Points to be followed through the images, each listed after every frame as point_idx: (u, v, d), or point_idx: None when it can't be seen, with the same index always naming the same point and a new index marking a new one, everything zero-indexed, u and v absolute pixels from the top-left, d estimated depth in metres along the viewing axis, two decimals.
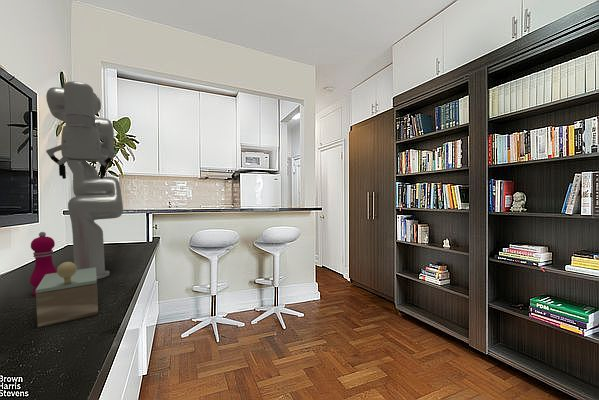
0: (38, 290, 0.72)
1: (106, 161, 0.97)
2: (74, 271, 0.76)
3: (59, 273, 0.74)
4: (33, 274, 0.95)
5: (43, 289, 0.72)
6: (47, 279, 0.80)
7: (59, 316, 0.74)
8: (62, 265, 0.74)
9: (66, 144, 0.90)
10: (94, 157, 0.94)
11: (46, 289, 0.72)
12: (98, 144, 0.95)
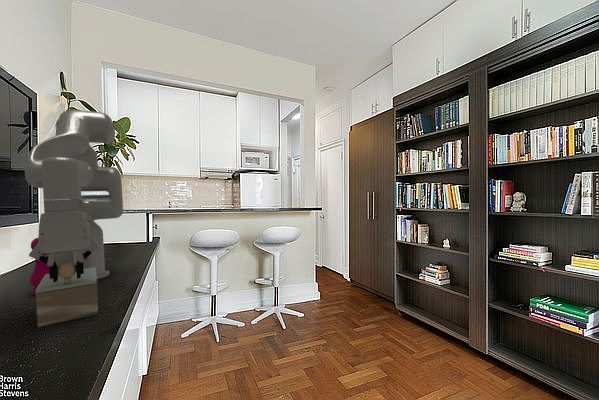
0: (38, 290, 0.72)
1: (84, 256, 0.77)
2: (74, 271, 0.76)
3: (59, 273, 0.74)
4: (33, 274, 0.95)
5: (43, 289, 0.72)
6: (47, 279, 0.80)
7: (59, 316, 0.74)
8: (62, 265, 0.74)
9: (44, 237, 0.72)
10: (80, 248, 0.76)
11: (46, 289, 0.72)
12: (85, 231, 0.76)
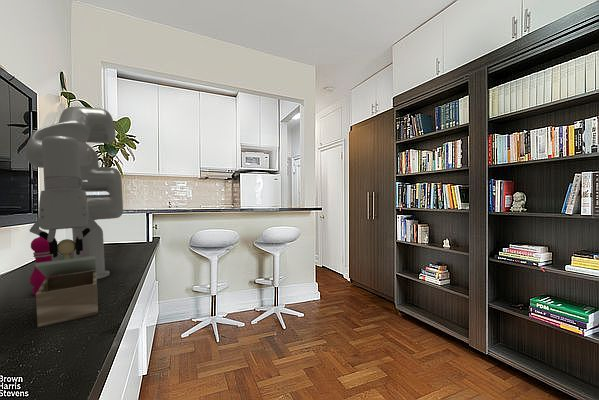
0: (37, 263, 0.72)
1: (83, 233, 0.79)
2: (73, 247, 0.78)
3: (59, 248, 0.76)
4: (33, 274, 0.95)
5: (42, 263, 0.73)
6: None
7: (59, 316, 0.74)
8: (62, 240, 0.77)
9: (44, 213, 0.74)
10: (80, 225, 0.78)
11: (45, 262, 0.73)
12: (85, 209, 0.78)
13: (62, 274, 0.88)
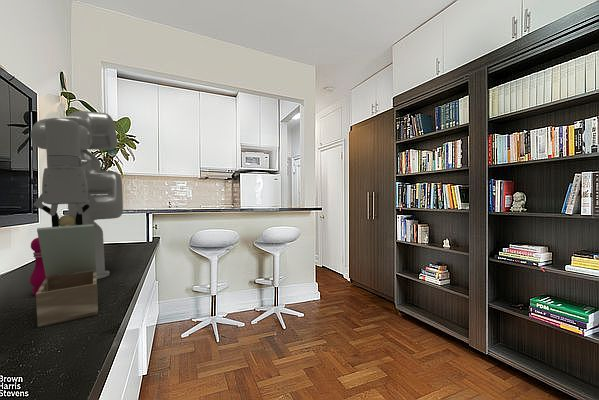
0: (39, 228, 0.77)
1: (83, 209, 0.86)
2: (74, 219, 0.84)
3: (60, 219, 0.82)
4: (33, 274, 0.95)
5: (44, 228, 0.78)
6: None
7: (59, 316, 0.74)
8: None
9: (47, 189, 0.80)
10: (79, 201, 0.84)
11: (47, 228, 0.78)
12: (84, 186, 0.85)
13: (62, 274, 0.88)
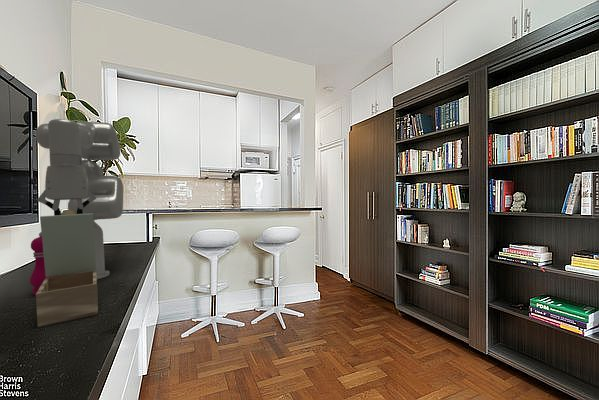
0: (42, 216, 0.83)
1: (83, 204, 0.91)
2: (74, 212, 0.89)
3: (62, 212, 0.88)
4: (33, 274, 0.95)
5: None
6: None
7: (59, 316, 0.74)
8: None
9: (50, 185, 0.86)
10: (80, 197, 0.90)
11: (49, 216, 0.84)
12: (84, 183, 0.90)
13: (62, 273, 0.88)
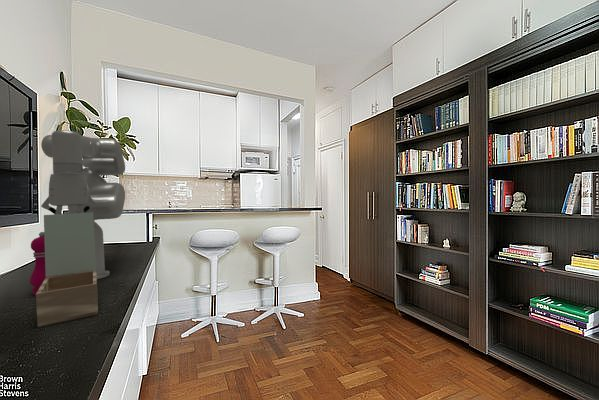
0: None
1: (84, 210, 0.97)
2: None
3: None
4: (33, 274, 0.95)
5: None
6: None
7: (59, 316, 0.74)
8: None
9: (53, 192, 0.92)
10: (81, 203, 0.96)
11: None
12: (85, 190, 0.96)
13: (62, 273, 0.88)
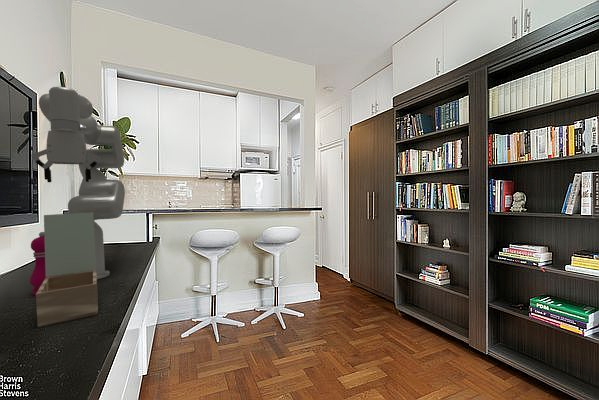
0: None
1: (91, 165, 0.98)
2: None
3: None
4: (33, 274, 0.95)
5: None
6: None
7: (59, 316, 0.74)
8: None
9: (51, 148, 0.92)
10: (79, 161, 0.96)
11: None
12: (83, 148, 0.96)
13: (62, 273, 0.88)
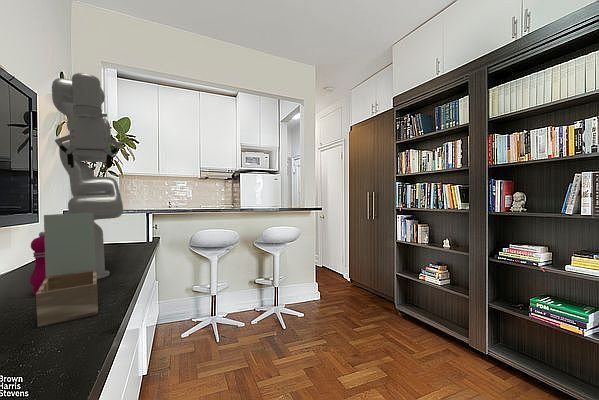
0: None
1: (112, 151, 1.00)
2: None
3: None
4: (33, 274, 0.95)
5: None
6: None
7: (59, 316, 0.74)
8: None
9: (74, 134, 0.93)
10: (101, 147, 0.97)
11: None
12: (105, 134, 0.97)
13: (62, 273, 0.88)
